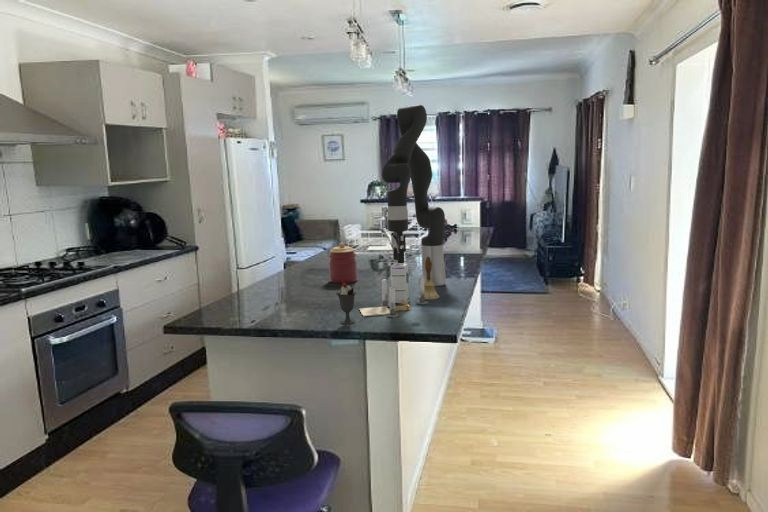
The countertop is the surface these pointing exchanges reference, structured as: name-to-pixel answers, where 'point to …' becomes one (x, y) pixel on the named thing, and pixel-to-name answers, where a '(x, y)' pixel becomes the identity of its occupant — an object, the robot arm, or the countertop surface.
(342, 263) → the canister
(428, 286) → the whisk broom
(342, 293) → the sundae
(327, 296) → the countertop surface
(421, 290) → the grey rods with bases
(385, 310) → the pad
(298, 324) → the countertop surface
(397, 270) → the syrup box
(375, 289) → the countertop surface
